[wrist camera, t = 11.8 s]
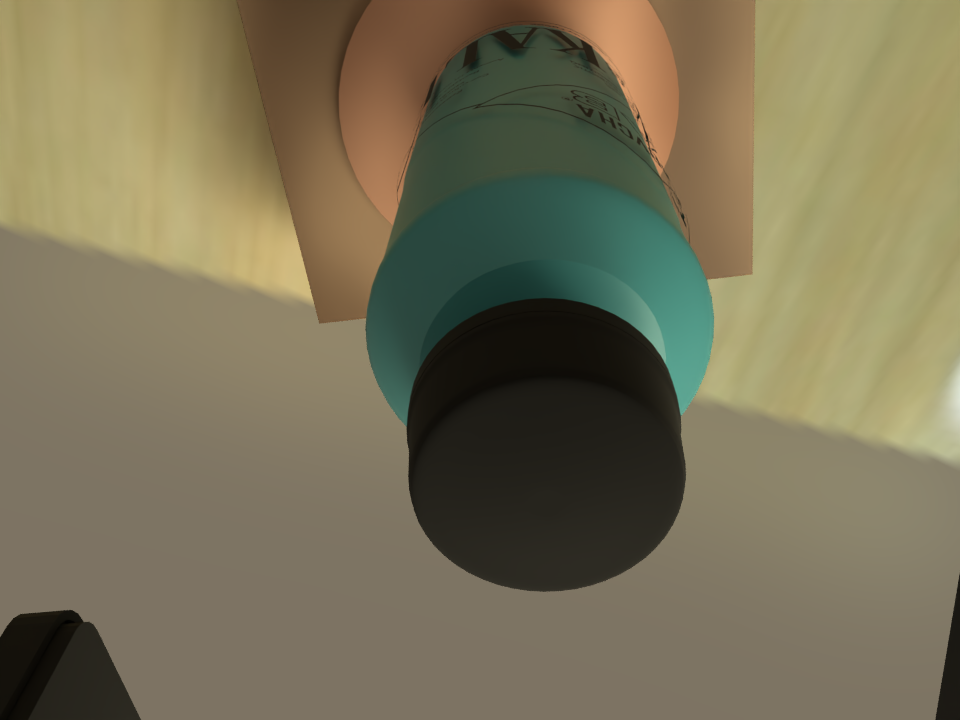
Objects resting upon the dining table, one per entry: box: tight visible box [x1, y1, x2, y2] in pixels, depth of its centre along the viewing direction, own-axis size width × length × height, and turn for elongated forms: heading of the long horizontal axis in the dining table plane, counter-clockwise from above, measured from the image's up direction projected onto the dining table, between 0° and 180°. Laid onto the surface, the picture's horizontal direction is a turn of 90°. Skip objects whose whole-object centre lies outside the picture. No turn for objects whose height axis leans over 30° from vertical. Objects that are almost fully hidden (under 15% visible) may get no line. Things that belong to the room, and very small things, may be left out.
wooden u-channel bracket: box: [237, 0, 755, 323], centre depth 34 cm, size 16×14×9 cm
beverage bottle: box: [366, 21, 714, 592], centre depth 21 cm, size 6×7×20 cm
